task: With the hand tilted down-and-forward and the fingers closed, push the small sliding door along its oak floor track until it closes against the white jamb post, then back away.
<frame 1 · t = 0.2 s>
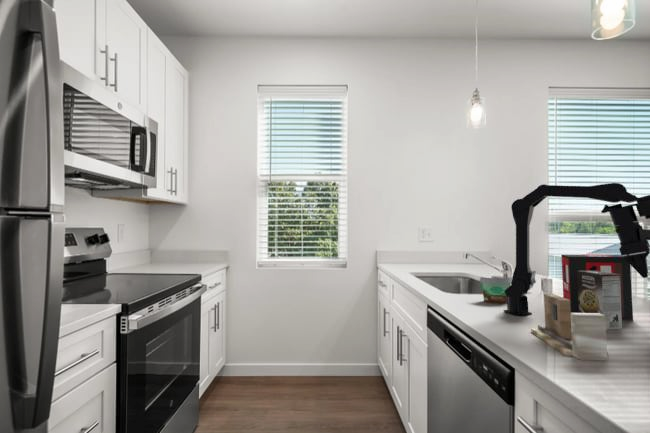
hand: (645, 275, 104), 15 cm above the countertop, tool pointing down, fingers open, 9 cm apart
food container: (498, 303, 144), on the countertop
track: (565, 342, 93), on the countertop
door: (556, 315, 97), point 6 cm above the countertop, slide at 0.0 cm
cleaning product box: (596, 316, 120), on the countertop
coffee box: (600, 326, 109), on the countertop
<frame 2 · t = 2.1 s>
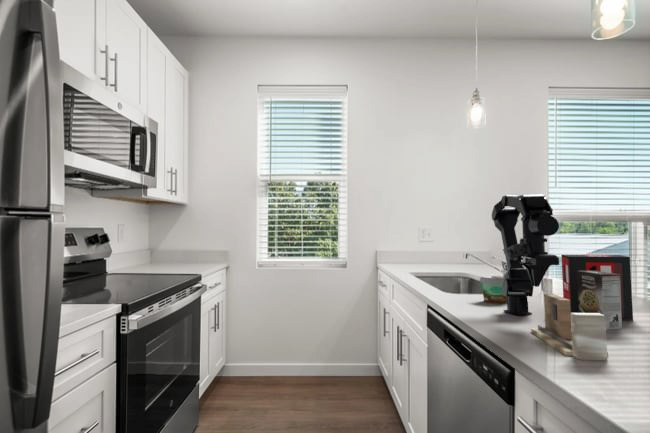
hand: (535, 286, 110), 12 cm above the countertop, tool pointing down, fingers closed
nothing on the countertop moved.
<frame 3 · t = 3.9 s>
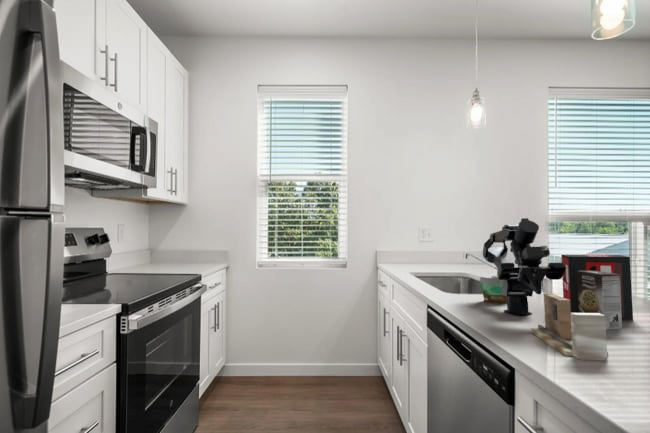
hand: (539, 293, 108), 10 cm above the countertop, tool tilted 45°, fingers closed
nothing on the countertop moved.
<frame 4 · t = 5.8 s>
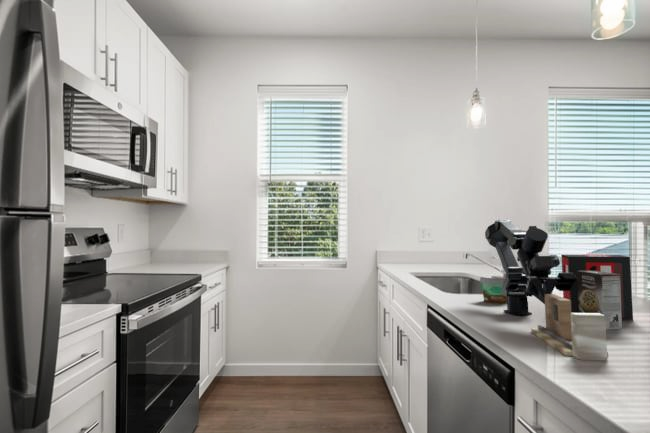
hand: (549, 305, 102), 8 cm above the countertop, tool tilted 45°, fingers closed, pressing on door
door: (557, 315, 97), point 6 cm above the countertop, slide at 0.4 cm, touching gripper
everything else where it was.
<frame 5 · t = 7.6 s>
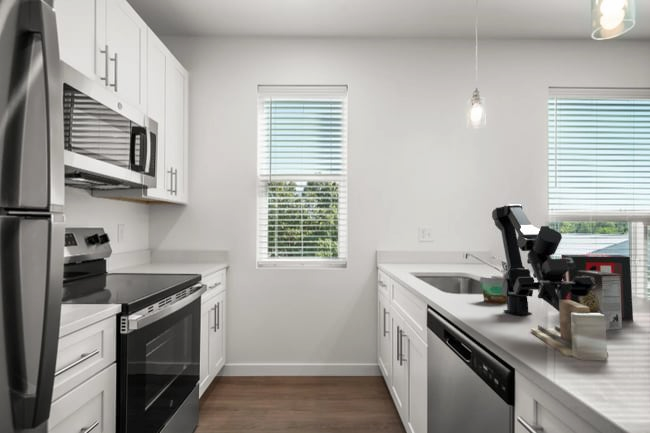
hand: (564, 313, 94), 8 cm above the countertop, tool tilted 45°, fingers closed, pressing on door
door: (573, 323, 89), point 6 cm above the countertop, slide at 8.7 cm, touching gripper
everything else where it was.
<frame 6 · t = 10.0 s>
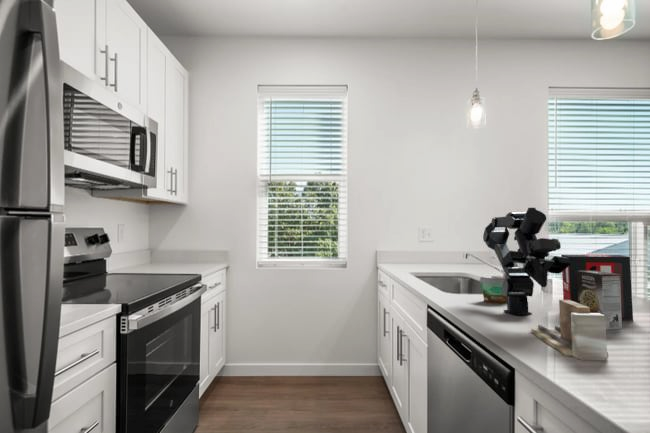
hand: (544, 286, 106), 13 cm above the countertop, tool tilted 40°, fingers closed
door: (574, 323, 89), point 6 cm above the countertop, slide at 8.8 cm
everything else where it was.
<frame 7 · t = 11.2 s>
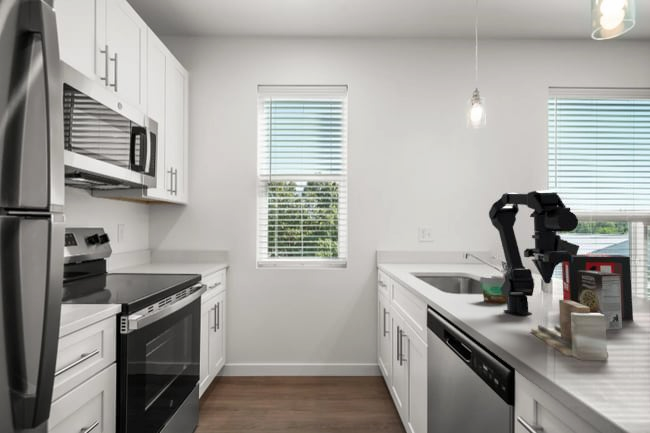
hand: (547, 283, 109), 13 cm above the countertop, tool pointing down, fingers closed
nothing on the countertop moved.
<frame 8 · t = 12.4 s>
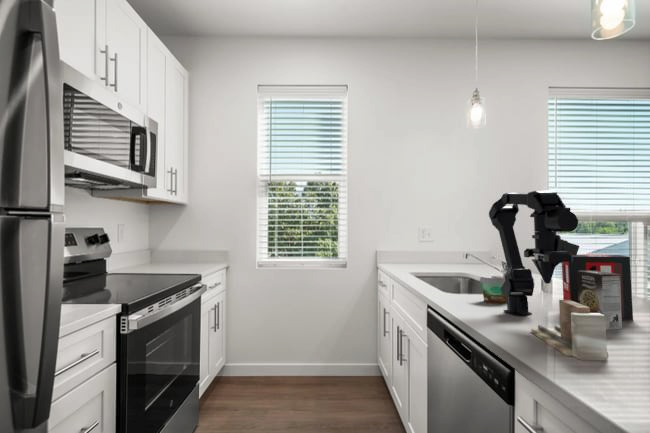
hand: (547, 283, 109), 13 cm above the countertop, tool pointing down, fingers closed
nothing on the countertop moved.
at the end: door slide at 8.8 cm; the gripper is holding nothing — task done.
